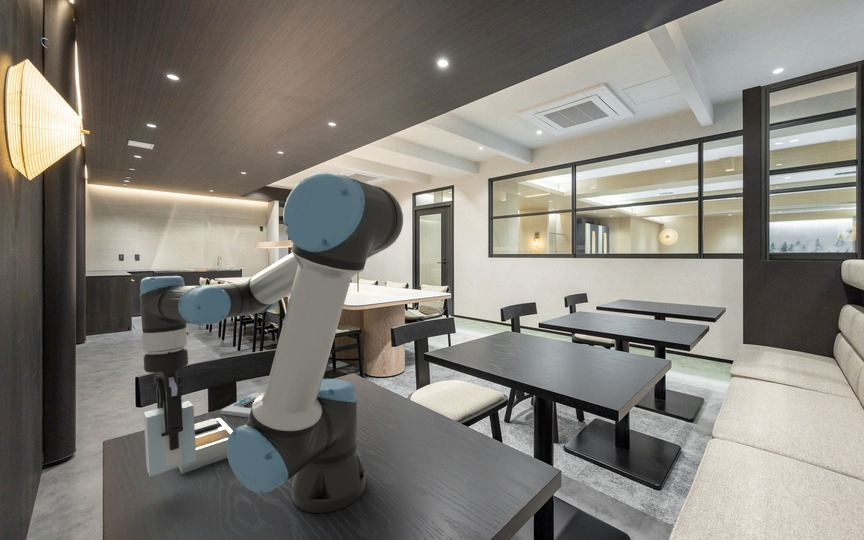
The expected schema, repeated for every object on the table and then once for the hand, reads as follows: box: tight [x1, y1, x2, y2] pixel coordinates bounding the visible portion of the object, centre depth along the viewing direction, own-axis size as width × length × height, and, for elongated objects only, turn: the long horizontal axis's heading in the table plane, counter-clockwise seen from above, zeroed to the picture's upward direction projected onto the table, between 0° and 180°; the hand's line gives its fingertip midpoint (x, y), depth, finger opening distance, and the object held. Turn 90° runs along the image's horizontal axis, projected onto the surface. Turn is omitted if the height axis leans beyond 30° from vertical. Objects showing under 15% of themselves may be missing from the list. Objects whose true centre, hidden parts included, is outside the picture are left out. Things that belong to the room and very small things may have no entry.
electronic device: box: [220, 392, 262, 418], centre depth 120 cm, size 18×2×15 cm
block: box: [143, 400, 196, 477], centre depth 77 cm, size 4×8×12 cm, turn 135°
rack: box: [177, 417, 234, 475], centre depth 93 cm, size 15×12×6 cm
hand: (171, 458), depth 77 cm, fingers closed on block, 4 cm apart
